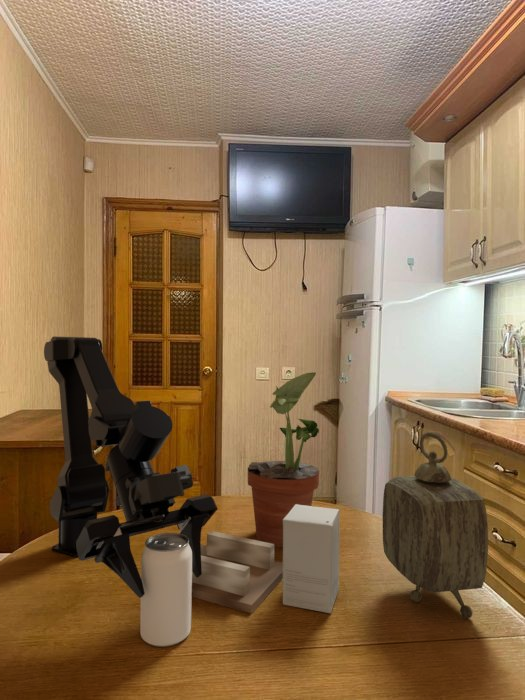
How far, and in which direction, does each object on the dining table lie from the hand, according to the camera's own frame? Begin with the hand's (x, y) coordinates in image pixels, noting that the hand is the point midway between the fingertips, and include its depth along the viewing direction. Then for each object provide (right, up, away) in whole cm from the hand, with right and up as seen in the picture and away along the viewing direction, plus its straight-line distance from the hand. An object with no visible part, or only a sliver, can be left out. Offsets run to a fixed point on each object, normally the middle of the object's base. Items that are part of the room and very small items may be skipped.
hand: (171, 585), depth 61 cm
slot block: (+5, -7, +16) cm, 18 cm away
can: (-1, -7, +1) cm, 7 cm away
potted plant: (+16, -7, +34) cm, 38 cm away
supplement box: (+19, -7, +11) cm, 23 cm away
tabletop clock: (+36, -8, +10) cm, 39 cm away
